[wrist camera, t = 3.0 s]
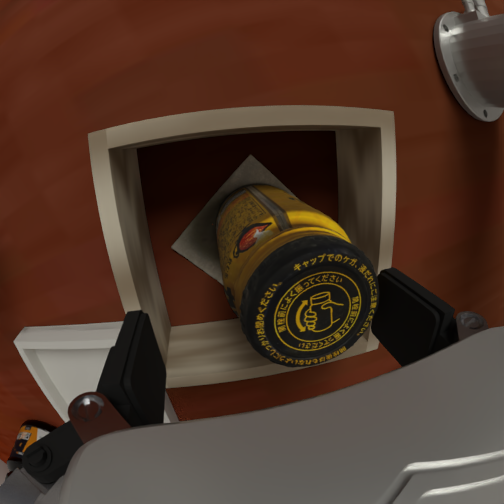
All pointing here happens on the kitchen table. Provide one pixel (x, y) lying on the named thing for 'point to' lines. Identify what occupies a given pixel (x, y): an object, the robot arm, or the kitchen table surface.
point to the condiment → (282, 269)
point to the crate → (230, 123)
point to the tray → (71, 360)
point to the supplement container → (26, 442)
